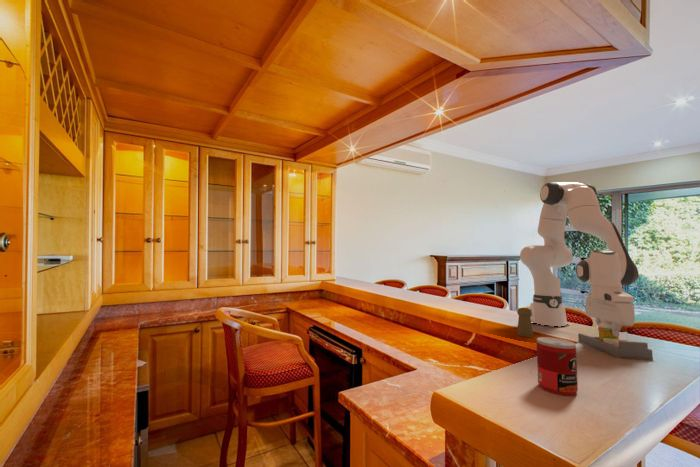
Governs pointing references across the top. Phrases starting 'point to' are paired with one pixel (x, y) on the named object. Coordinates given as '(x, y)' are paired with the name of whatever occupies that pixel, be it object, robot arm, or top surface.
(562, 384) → the canned food
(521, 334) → the cork
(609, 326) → the supplement bottle
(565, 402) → the top surface
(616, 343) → the pale grey block
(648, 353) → the pusher lane
